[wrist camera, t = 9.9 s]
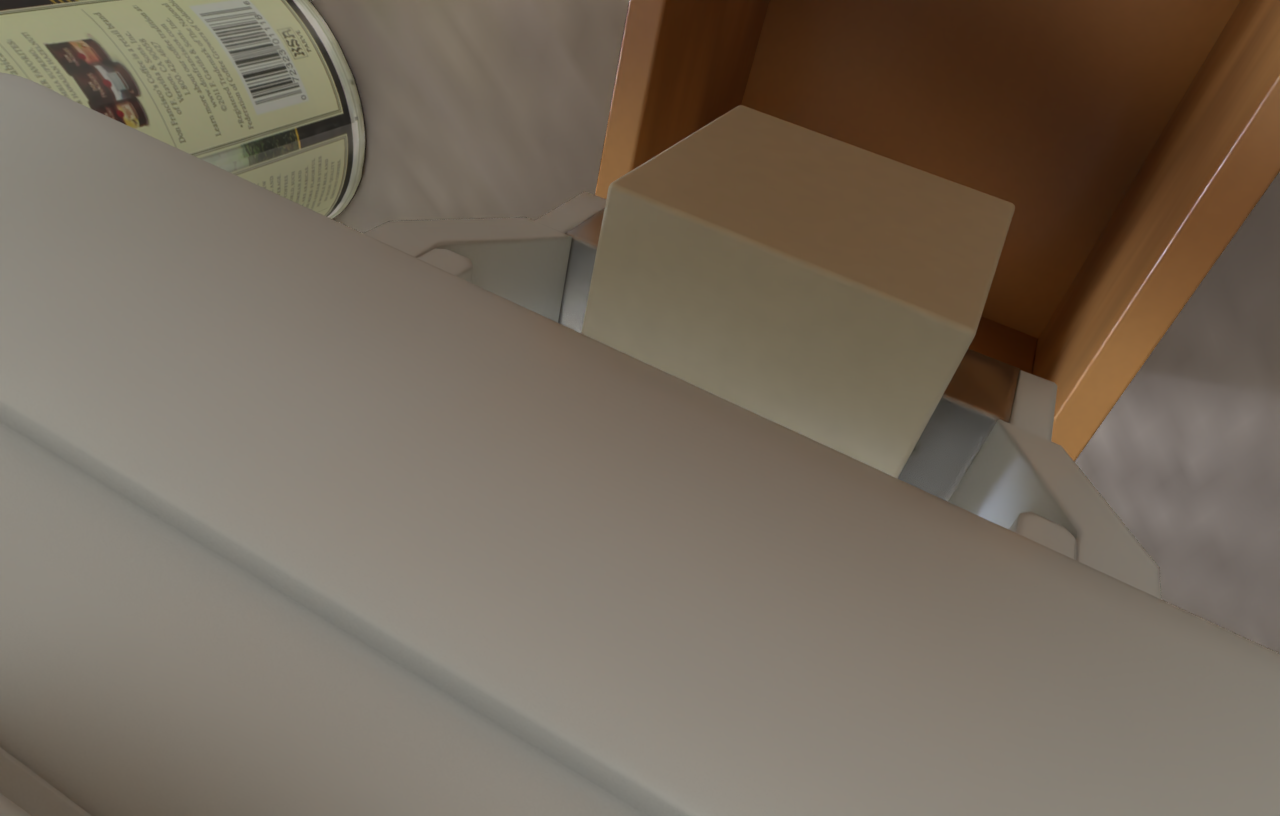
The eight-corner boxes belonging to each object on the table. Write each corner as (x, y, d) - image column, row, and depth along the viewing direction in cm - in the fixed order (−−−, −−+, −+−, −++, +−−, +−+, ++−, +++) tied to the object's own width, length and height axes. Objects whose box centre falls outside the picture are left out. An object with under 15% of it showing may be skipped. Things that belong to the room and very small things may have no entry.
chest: (1054, 360, 24) (1034, 519, 18) (694, 216, 27) (572, 312, 21) (1418, -225, 15) (1606, -289, 10) (839, -345, 18) (706, -452, 12)
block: (898, 433, 14) (832, 599, 11) (676, 334, 16) (555, 459, 12) (1017, 203, 12) (977, 333, 8) (739, 102, 13) (606, 181, 10)
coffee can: (151, 118, 36) (-262, 220, 25) (184, -117, 29) (-362, -115, 18) (329, 276, 36) (-10, 446, 25) (403, 78, 29) (-16, 194, 18)
